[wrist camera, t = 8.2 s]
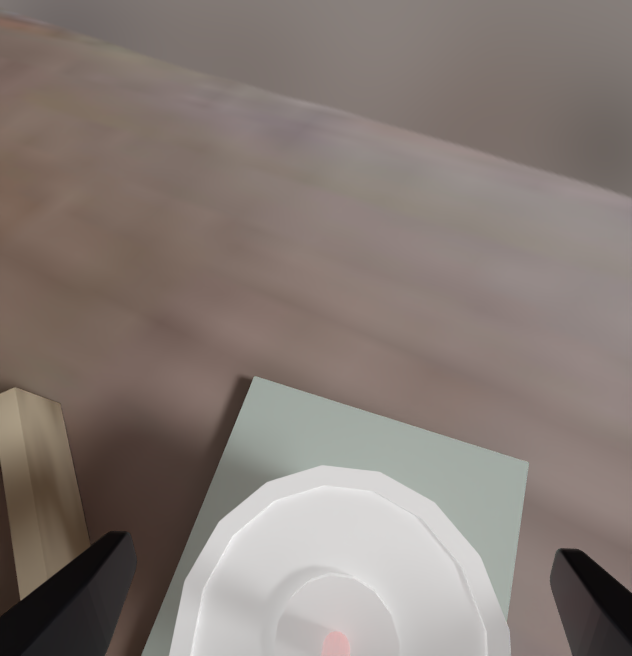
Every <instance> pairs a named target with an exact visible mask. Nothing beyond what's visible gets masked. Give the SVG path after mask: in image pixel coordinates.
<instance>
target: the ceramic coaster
mask: <svg viewBox="0 0 632 656" xmlns="http://www.w3.org/2000/svg"><path fill="white" fill-rule="evenodd" d="M321 465H325V466H334V467H342V468H351V469H360V470H369V471H377V472H381V473H383V474H385V475H386V476H388V477H390V478H392V479H394V480H395V481H397V482H399V483H401V484H403V485H404V486H406V487H408V488H410V489H412V490H413V491H415V492H417V493H419V494H421V495H422V496H424V497H426V498H428V499H429V500H431V501H433V502H435V503H436V505H437V506H438V507H439V508H440V509H441V510H442V512H443V513H444V514H445V515H446V516H447V518H448V519H449V520H450V521H451V522H452V523H453V525H454V526H455V527H456V528H457V529H458V531H459V532H460V533H461V534H462V535H463V536H464V538H465V539H466V540H467V541H468V542H469V543H470V545H471V546H472V547H473V548H474V549H475V551H476V552H477V553H478V554H479V555H480V557H481V559H482V562H483V564H484V567H485V569H486V572H487V574H488V577H489V579H490V582H491V584H492V587H493V590H494V592H495V595H496V597H497V600H498V602H499V605H500V607H501V610H502V612H503V615H504V617H505V620H506V623H507V616H508V609H509V602H510V595H511V588H512V581H513V574H514V566H515V559H516V552H517V545H518V538H519V531H520V524H521V516H522V509H523V502H524V495H525V488H526V481H527V474H528V466H529V462H526V461H523V460H520V459H516V458H513V457H510V456H507V455H504V454H501V453H497V452H494V451H491V450H488V449H485V448H482V447H478V446H475V445H472V444H469V443H466V442H462V441H459V440H456V439H453V438H450V437H447V436H443V435H440V434H437V433H434V432H431V431H428V430H424V429H421V428H418V427H415V426H412V425H408V424H405V423H402V422H399V421H396V420H393V419H389V418H386V417H383V416H380V415H377V414H374V413H370V412H367V411H364V410H361V409H358V408H354V407H351V406H348V405H345V404H342V403H339V402H335V401H332V400H329V399H326V398H323V397H320V396H316V395H313V394H310V393H307V392H304V391H300V390H297V389H294V388H291V387H288V386H285V385H281V384H278V383H275V382H272V381H269V380H266V379H262V378H259V377H256V376H254V378H253V381H252V383H251V386H250V388H249V391H248V393H247V395H246V398H245V400H244V403H243V405H242V408H241V410H240V413H239V415H238V418H237V420H236V423H235V425H234V428H233V430H232V433H231V435H230V437H229V440H228V442H227V445H226V447H225V450H224V452H223V455H222V457H221V460H220V462H219V465H218V467H217V470H216V472H215V475H214V477H213V480H212V482H211V484H210V487H209V489H208V492H207V494H206V497H205V499H204V502H203V504H202V507H201V509H200V512H199V514H198V517H197V519H196V522H195V524H194V527H193V529H192V531H191V534H190V536H189V539H188V541H187V544H186V546H185V549H184V551H183V554H182V556H181V559H180V561H179V564H178V566H177V569H176V571H175V574H174V576H173V578H172V581H171V583H170V586H169V588H168V591H167V593H166V596H165V598H164V601H163V603H162V606H161V608H160V611H159V613H158V616H157V618H156V620H155V623H154V625H153V628H152V630H151V633H150V635H149V638H148V640H147V643H146V645H145V648H144V650H143V653H142V655H141V656H169V653H170V649H171V644H172V639H173V634H174V629H175V624H176V619H177V615H178V610H179V605H180V600H181V595H182V590H183V586H184V581H185V579H186V577H187V576H188V574H189V572H190V571H191V569H192V567H193V565H194V564H195V562H196V560H197V559H198V557H199V555H200V553H201V552H202V550H203V548H204V546H205V545H206V543H207V541H208V540H209V538H210V536H211V534H212V533H213V531H214V529H215V528H216V526H217V524H218V522H219V521H220V520H221V519H223V518H224V517H225V516H226V515H227V514H229V513H230V512H231V511H232V510H234V509H235V508H236V507H237V506H238V505H240V504H241V503H242V502H243V501H244V500H246V499H247V498H248V497H249V496H250V495H252V494H253V493H254V492H255V491H257V490H258V489H259V488H260V487H261V486H263V485H264V484H265V483H266V482H269V481H272V480H275V479H278V478H282V477H285V476H288V475H291V474H295V473H298V472H301V471H305V470H308V469H311V468H314V467H318V466H321Z"/></svg>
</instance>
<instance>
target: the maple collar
mask: <svg viewBox="0 0 632 656" xmlns="http://www.w3.org/2000/svg"><path fill="white" fill-rule="evenodd" d="M0 461H1V468H2V475H3V482H4V489H5V496H6V503H7V510H8V517H9V524H10V531H11V538H12V545H13V552H14V559H15V566H16V573H17V580H18V587H19V594H20V601H21V600H22V599H23V598H25V597H26V596H27V595H29V594H30V593H31V592H32V591H34V590H35V589H36V588H38V587H39V586H40V585H41V584H43V583H44V582H45V581H46V580H48V579H49V578H50V577H52V576H53V575H54V574H55V573H57V572H58V571H59V570H61V569H62V568H63V567H64V566H66V565H67V564H68V563H69V562H71V561H72V560H73V559H75V558H76V557H77V556H78V555H80V554H81V553H82V552H83V551H85V550H86V549H87V548H89V547H90V546H91V545H90V540H89V536H88V531H87V526H86V522H85V517H84V512H83V508H82V503H81V498H80V494H79V489H78V484H77V480H76V475H75V470H74V466H73V461H72V456H71V451H70V447H69V442H68V437H67V433H66V428H65V423H64V419H63V414H62V409H61V405H60V403H57V402H54V401H51V400H49V399H46V398H43V397H40V396H38V395H35V394H32V393H30V392H27V391H24V390H21V389H19V388H16V387H14V388H12V389H10V390H8V391H5V392H3V393H1V394H0Z"/></svg>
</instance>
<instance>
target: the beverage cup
mask: <svg viewBox="0 0 632 656" xmlns="http://www.w3.org/2000/svg"><path fill="white" fill-rule="evenodd" d="M169 656H511V647H510V630H509V628H508V625H507V623H506V620H505V617H504V615H503V612H502V610H501V607H500V605H499V602H498V600H497V597H496V595H495V592H494V590H493V587H492V584H491V582H490V579H489V577H488V574H487V572H486V569H485V567H484V564H483V562H482V559H481V557H480V555H479V554H478V553H477V552H476V551H475V549H474V548H473V547H472V546H471V545H470V543H469V542H468V541H467V540H466V539H465V538H464V536H463V535H462V534H461V533H460V532H459V531H458V529H457V528H456V527H455V526H454V525H453V523H452V522H451V521H450V520H449V519H448V518H447V516H446V515H445V514H444V513H443V512H442V510H441V509H440V508H439V507H438V506H437V505H436V503H435V502H433V501H431V500H429V499H428V498H426V497H424V496H422V495H421V494H419V493H417V492H415V491H413V490H412V489H410V488H408V487H406V486H404V485H403V484H401V483H399V482H397V481H395V480H394V479H392V478H390V477H388V476H386V475H385V474H383V473H381V472H377V471H369V470H360V469H351V468H342V467H334V466H325V465H321V466H318V467H314V468H311V469H308V470H305V471H301V472H298V473H295V474H291V475H288V476H285V477H282V478H278V479H275V480H272V481H269V482H266V483H265V484H264V485H263V486H261V487H260V488H259V489H258V490H257V491H255V492H254V493H253V494H252V495H250V496H249V497H248V498H247V499H246V500H244V501H243V502H242V503H241V504H240V505H238V506H237V507H236V508H235V509H234V510H232V511H231V512H230V513H229V514H227V515H226V516H225V517H224V518H223V519H221V520H220V521H219V522H218V524H217V526H216V528H215V529H214V531H213V533H212V534H211V536H210V538H209V540H208V541H207V543H206V545H205V546H204V548H203V550H202V552H201V553H200V555H199V557H198V559H197V560H196V562H195V564H194V565H193V567H192V569H191V571H190V572H189V574H188V576H187V577H186V579H185V581H184V586H183V590H182V595H181V600H180V605H179V610H178V615H177V619H176V624H175V629H174V634H173V639H172V644H171V649H170V653H169Z"/></svg>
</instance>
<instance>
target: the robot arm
mask: <svg viewBox="0 0 632 656" xmlns="http://www.w3.org/2000/svg"><path fill="white" fill-rule="evenodd" d="M136 564H137V558H136V553H135V549H134V546H133V542H132V538H131V535H130V533H129V532H126V531H110V532H108V533H107V534H105V535H104V536H103V537H101V538H100V539H99V540H98V541H96V542H95V543H94V544H92V545H91V546H90V547H89V548H87V549H86V550H85V551H83V552H82V553H81V554H80V555H78V556H77V557H76V558H75V559H73V560H72V561H71V562H69V563H68V564H67V565H66V566H64V567H63V568H62V569H61V570H59V571H58V572H57V573H55V574H54V575H53V576H52V577H50V578H49V579H48V580H46V581H45V582H44V583H43V584H41V585H40V586H39V587H38V588H36V589H35V590H34V591H32V592H31V593H30V594H29V595H27V596H26V597H25V598H23V599H22V600H21V601H20V602H18V603H17V604H16V605H15V606H13V607H12V608H11V609H9V610H8V611H7V612H6V613H4V614H3V615H2V616H0V656H105V654H106V651H107V649H108V647H109V644H110V641H111V639H112V636H113V633H114V630H115V627H116V624H117V622H118V619H119V616H120V613H121V610H122V607H123V604H124V601H125V599H126V596H127V593H128V590H129V587H130V584H131V581H132V578H133V575H134V573H135V569H136ZM550 585H551V590H552V593H553V596H554V599H555V602H556V605H557V609H558V612H559V615H560V618H561V621H562V624H563V627H564V630H565V634H566V637H567V640H568V643H569V646H570V649H571V652H572V655H573V656H632V593H631V592H630V591H629V590H628V589H626V588H625V587H624V586H623V585H622V584H620V583H619V582H618V581H617V580H616V579H615V578H613V577H612V576H611V575H610V574H609V573H608V572H606V571H605V570H604V569H603V568H602V567H601V566H599V565H598V564H597V563H596V562H595V561H594V560H592V559H591V558H590V557H589V556H588V555H586V554H585V553H584V552H583V551H581V550H579V549H567V548H560V549H558V550H557V551H556V554H555V558H554V562H553V566H552V570H551V574H550Z"/></svg>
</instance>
